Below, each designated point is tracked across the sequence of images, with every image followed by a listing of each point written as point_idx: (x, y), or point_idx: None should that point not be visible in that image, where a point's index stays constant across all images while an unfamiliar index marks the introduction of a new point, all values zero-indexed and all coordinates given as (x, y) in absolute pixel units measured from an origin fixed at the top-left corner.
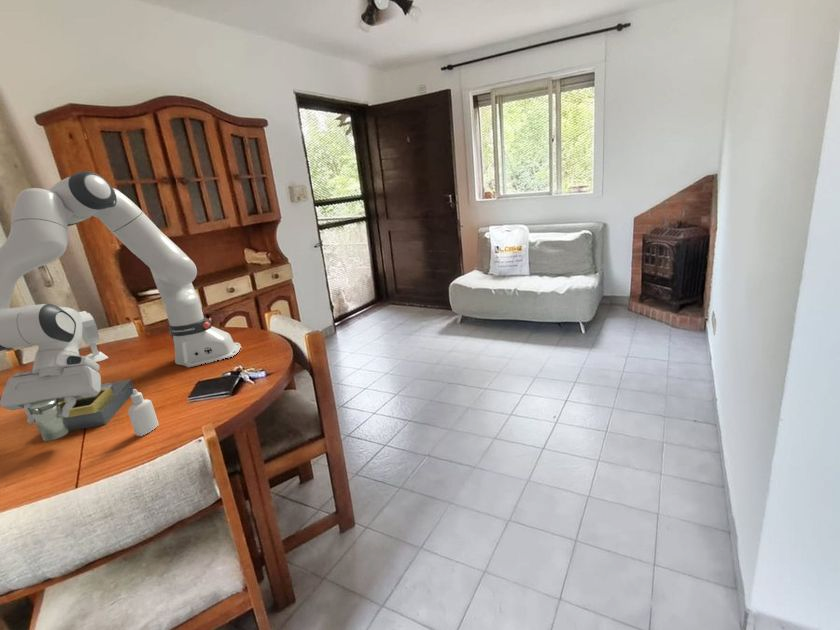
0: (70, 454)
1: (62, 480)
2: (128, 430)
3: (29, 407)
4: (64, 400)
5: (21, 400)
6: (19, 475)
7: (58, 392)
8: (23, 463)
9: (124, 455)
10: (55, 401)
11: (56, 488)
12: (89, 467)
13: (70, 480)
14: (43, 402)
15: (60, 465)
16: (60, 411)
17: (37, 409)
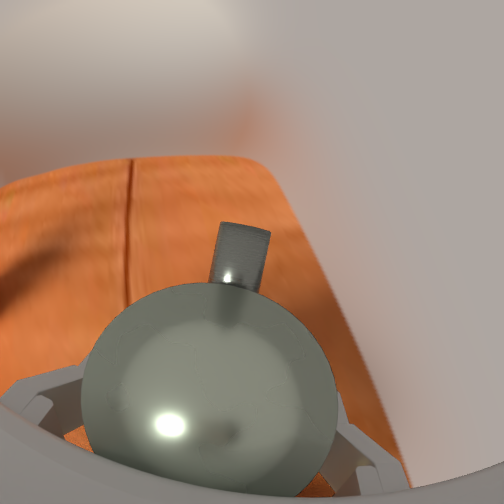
0: None
1: (163, 179)
2: (12, 364)
3: (324, 356)
4: (48, 412)
5: (450, 501)
6: (294, 269)
7: (34, 473)
8: None
9: (38, 212)
10: (85, 372)
11: (172, 157)
12: (107, 201)
13: (146, 170)
14: (204, 418)
15: (181, 258)
16: None
17: (219, 262)
